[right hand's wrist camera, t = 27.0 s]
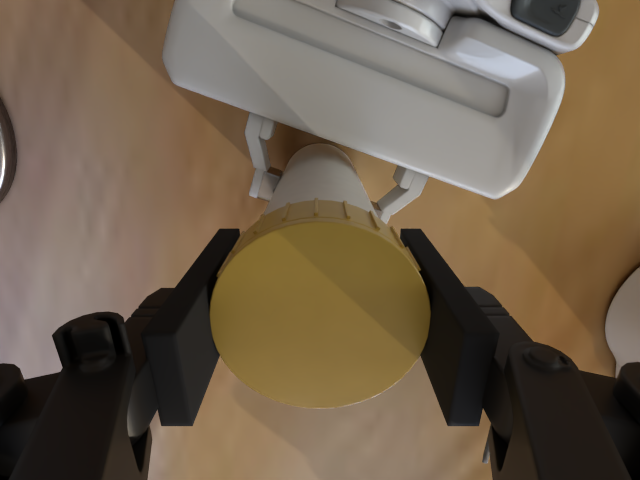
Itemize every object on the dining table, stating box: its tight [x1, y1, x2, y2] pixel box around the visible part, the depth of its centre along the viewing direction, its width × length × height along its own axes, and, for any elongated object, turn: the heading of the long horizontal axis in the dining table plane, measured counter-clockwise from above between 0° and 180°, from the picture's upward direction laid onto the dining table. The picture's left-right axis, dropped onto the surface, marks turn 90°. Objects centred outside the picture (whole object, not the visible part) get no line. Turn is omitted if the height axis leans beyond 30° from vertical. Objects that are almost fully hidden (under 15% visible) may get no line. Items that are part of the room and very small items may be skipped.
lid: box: [209, 198, 431, 409], centre depth 11 cm, size 6×6×2 cm
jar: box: [264, 143, 378, 217], centre depth 19 cm, size 6×6×18 cm
